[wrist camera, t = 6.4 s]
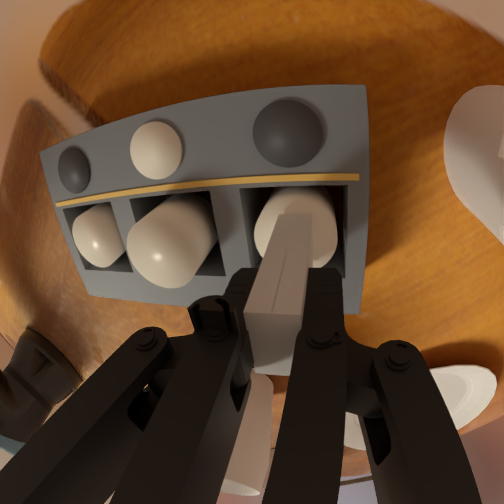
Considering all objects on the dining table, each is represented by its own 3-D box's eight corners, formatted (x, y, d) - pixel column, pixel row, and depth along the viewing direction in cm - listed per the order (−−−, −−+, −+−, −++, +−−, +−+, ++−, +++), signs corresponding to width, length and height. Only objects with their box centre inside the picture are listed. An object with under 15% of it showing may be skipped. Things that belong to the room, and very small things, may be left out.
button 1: (112, 241, 21) (84, 266, 18) (98, 196, 19) (65, 216, 16) (150, 240, 20) (123, 268, 17) (136, 190, 18) (103, 211, 15)
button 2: (168, 252, 18) (140, 286, 15) (153, 195, 16) (117, 221, 13) (225, 252, 17) (203, 290, 14) (214, 189, 15) (185, 216, 12)
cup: (210, 342, 26) (161, 455, 16) (299, 374, 25) (278, 490, 15) (196, 384, 30) (159, 471, 20) (268, 409, 30) (245, 498, 20)
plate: (416, 442, 31) (416, 454, 29) (300, 424, 31) (298, 438, 30) (518, 365, 20) (523, 378, 18) (404, 324, 20) (409, 344, 18)
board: (114, 268, 24) (87, 296, 20) (75, 138, 18) (36, 153, 14) (354, 274, 19) (359, 316, 15) (353, 88, 13) (366, 84, 9)
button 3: (270, 239, 18) (258, 273, 15) (264, 178, 16) (249, 200, 13) (334, 239, 17) (336, 274, 14) (333, 176, 15) (337, 198, 12)
